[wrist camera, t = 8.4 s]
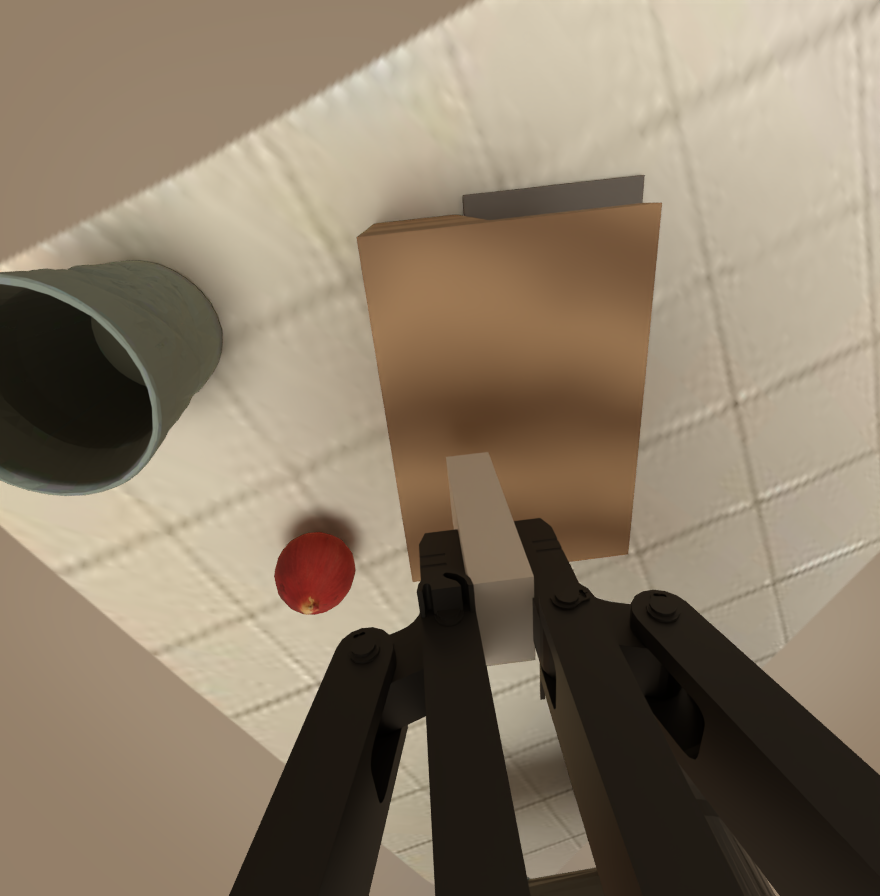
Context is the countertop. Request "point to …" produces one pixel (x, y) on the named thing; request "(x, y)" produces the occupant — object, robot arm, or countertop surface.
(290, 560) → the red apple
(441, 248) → the brown flat-topped block
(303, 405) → the countertop surface
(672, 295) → the countertop surface
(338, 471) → the countertop surface
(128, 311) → the grey-green tapered bin
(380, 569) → the countertop surface
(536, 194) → the mat
